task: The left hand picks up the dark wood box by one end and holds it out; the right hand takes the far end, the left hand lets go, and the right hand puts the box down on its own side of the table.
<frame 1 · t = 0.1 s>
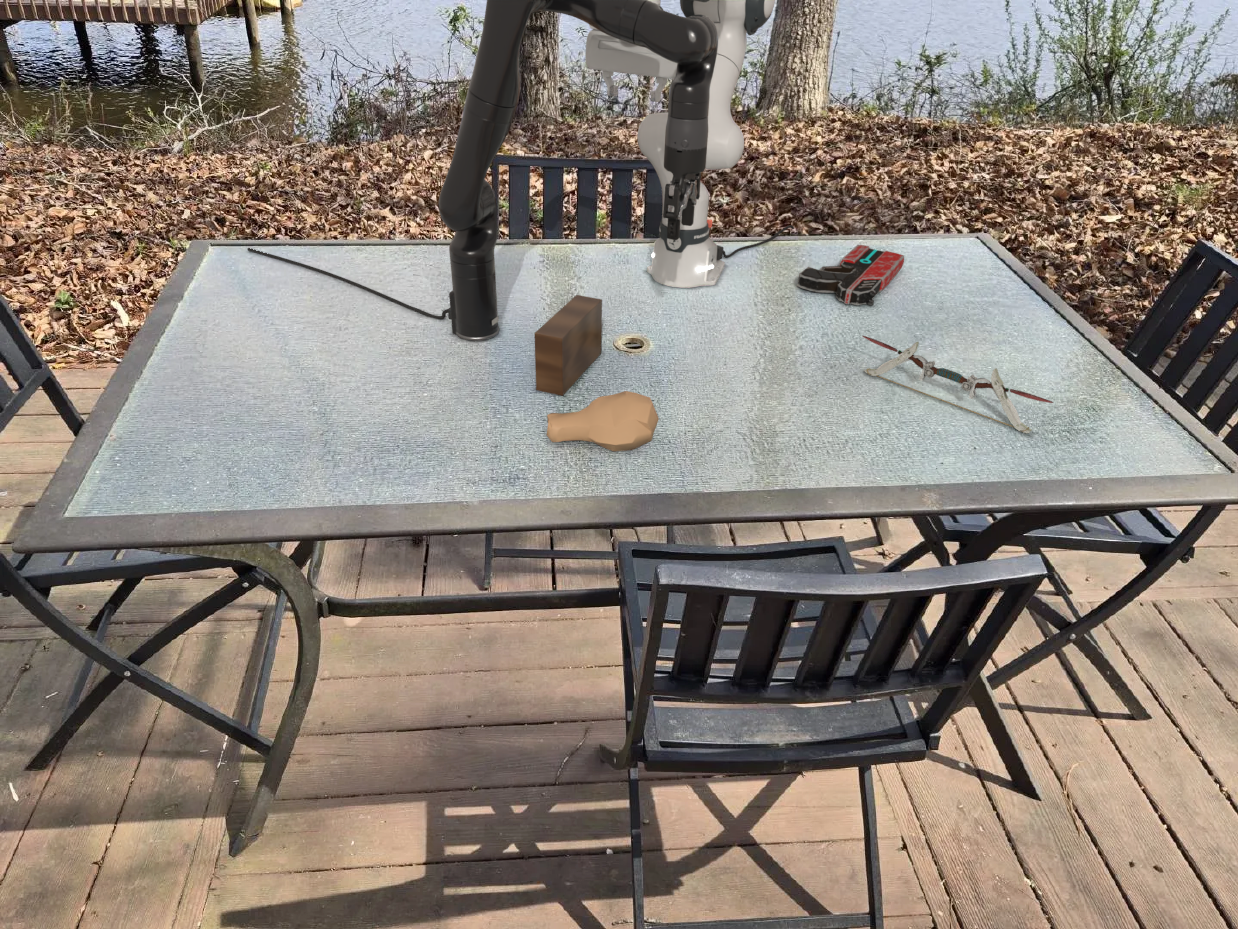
left hand: (680, 231, 164), 29 cm above the table, tool pointing down, fingers open, 8 cm apart
right hand: (633, 98, 173), 48 cm above the table, tool pointing down, fingers open, 8 cm apart
bow: (942, 401, 172), on the table
squash: (602, 441, 157), on the table
gun: (851, 281, 223), on the table
box: (570, 371, 179), on the table
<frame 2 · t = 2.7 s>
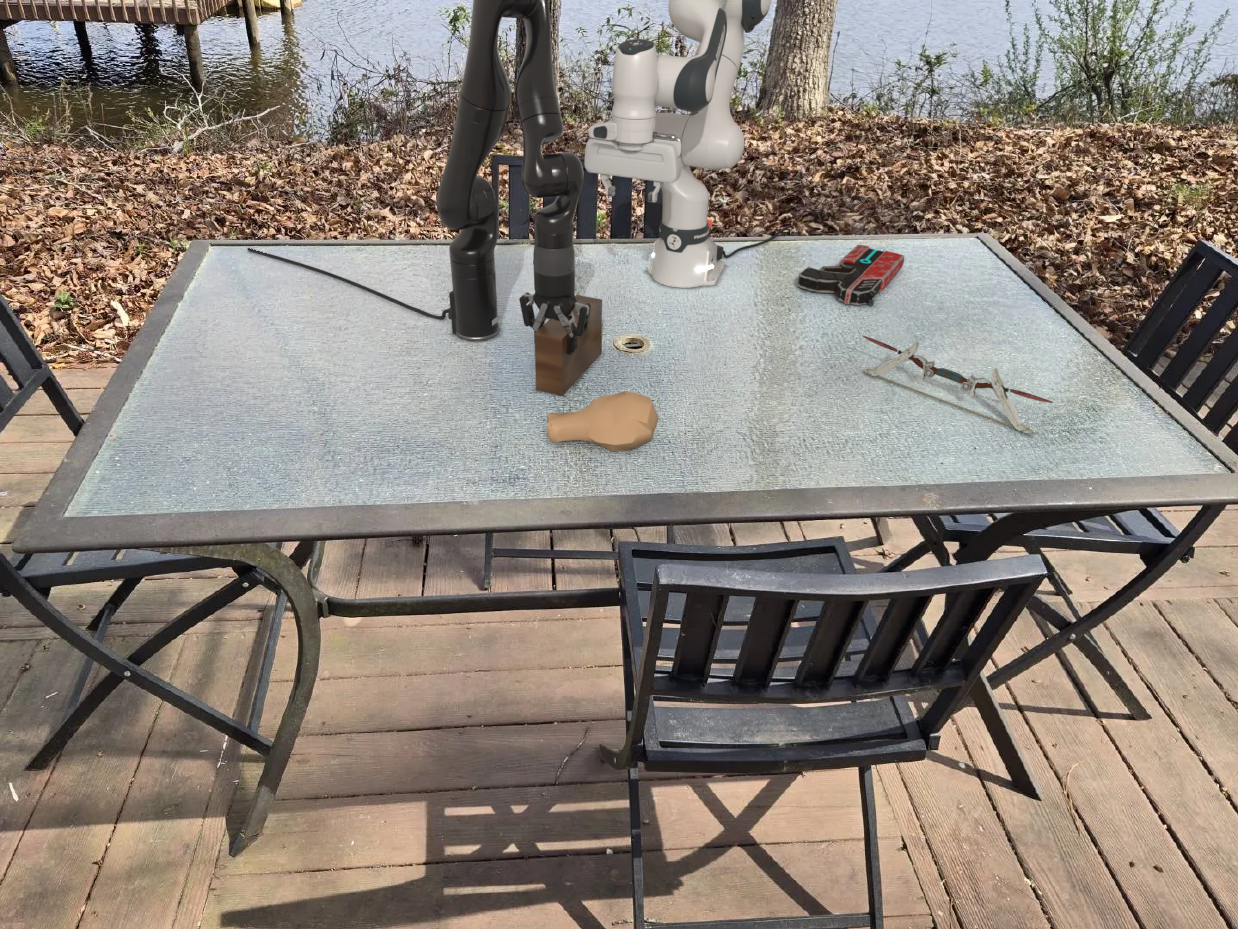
left hand: (555, 349, 169), 8 cm above the table, tool pointing down, fingers closed on box, 5 cm apart
right hand: (631, 198, 184), 28 cm above the table, tool pointing down, fingers open, 8 cm apart
box: (569, 371, 179), on the table, touching left hand
everything else where it was.
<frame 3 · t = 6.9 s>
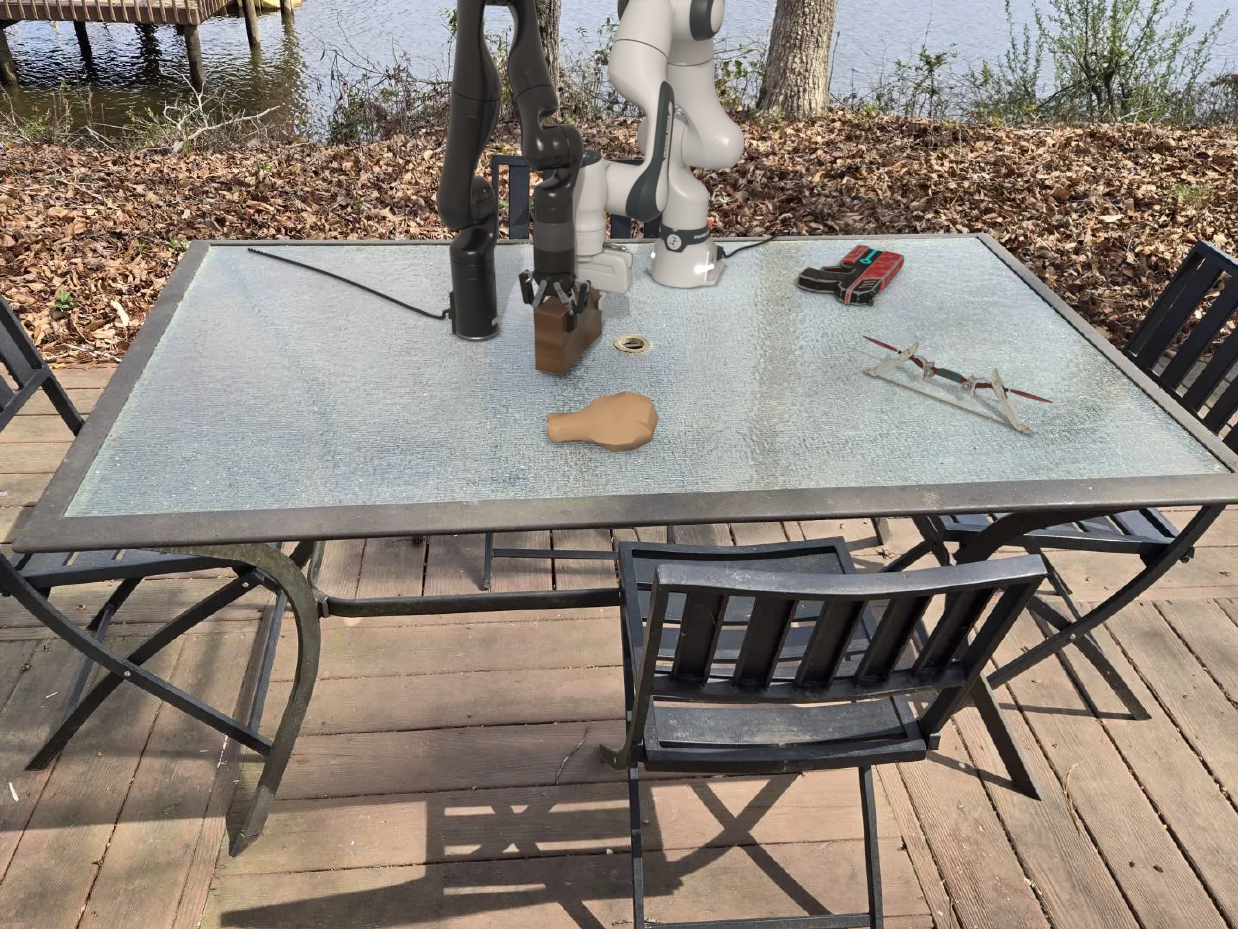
left hand: (555, 327, 167), 12 cm above the table, tool pointing down, fingers closed on box, 5 cm apart
right hand: (582, 305, 178), 12 cm above the table, tool pointing down, fingers closed on box, 6 cm apart
box: (569, 351, 176), point 5 cm above the table, touching left hand, right hand
everything else where it was.
when the left hand's fingers open (12 cm above the table, at t = 8.1 s): box stays where it is, held by the right hand.
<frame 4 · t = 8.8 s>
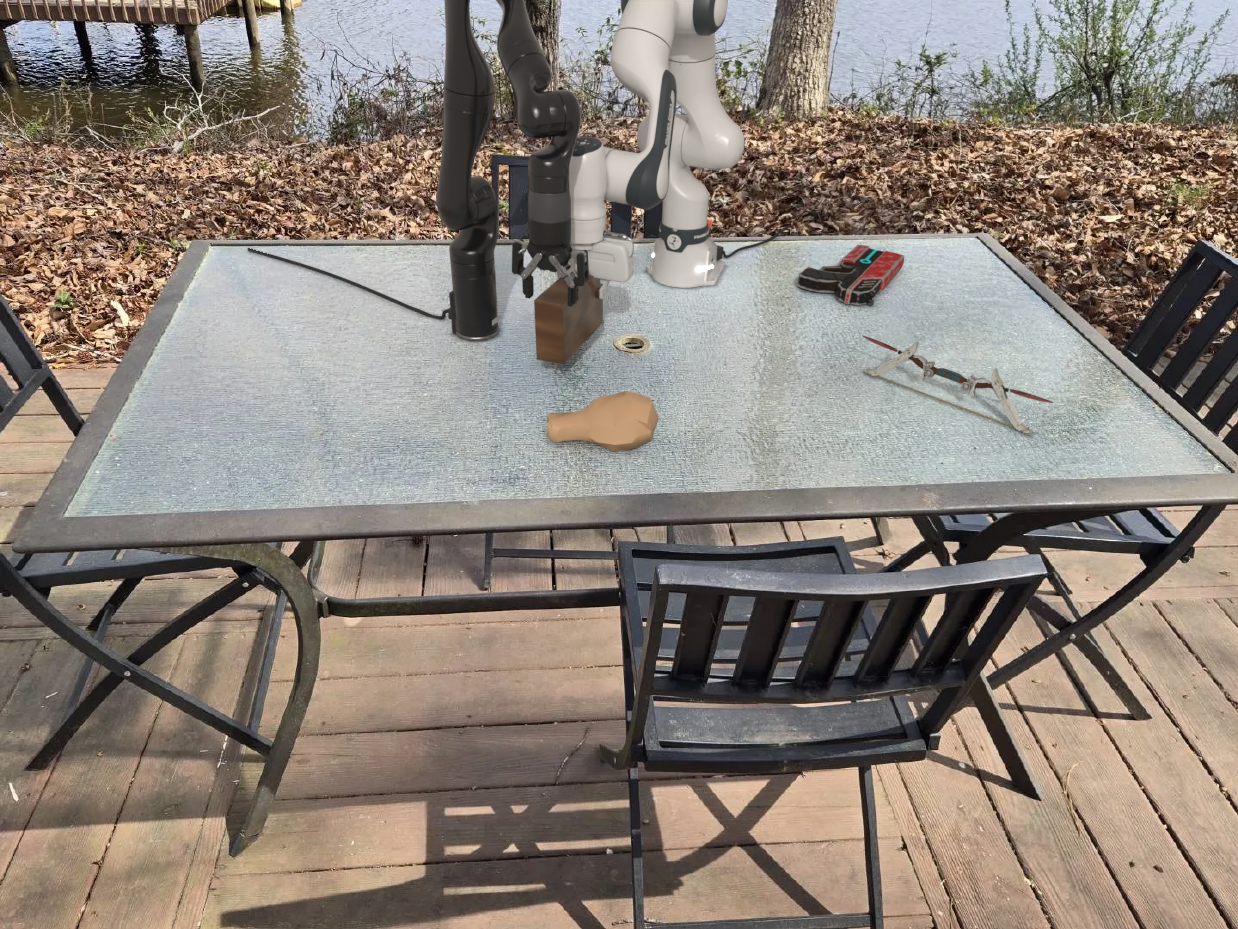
left hand: (550, 300, 161), 19 cm above the table, tool pointing down, fingers open, 8 cm apart
right hand: (583, 294, 176), 14 cm above the table, tool pointing down, fingers closed on box, 6 cm apart
box: (571, 340, 175), point 7 cm above the table, touching right hand
everything else where it was.
when the right hand's fingers open (8 cm above the table, at t = 13.0 s): box drops 1 cm, on the table.
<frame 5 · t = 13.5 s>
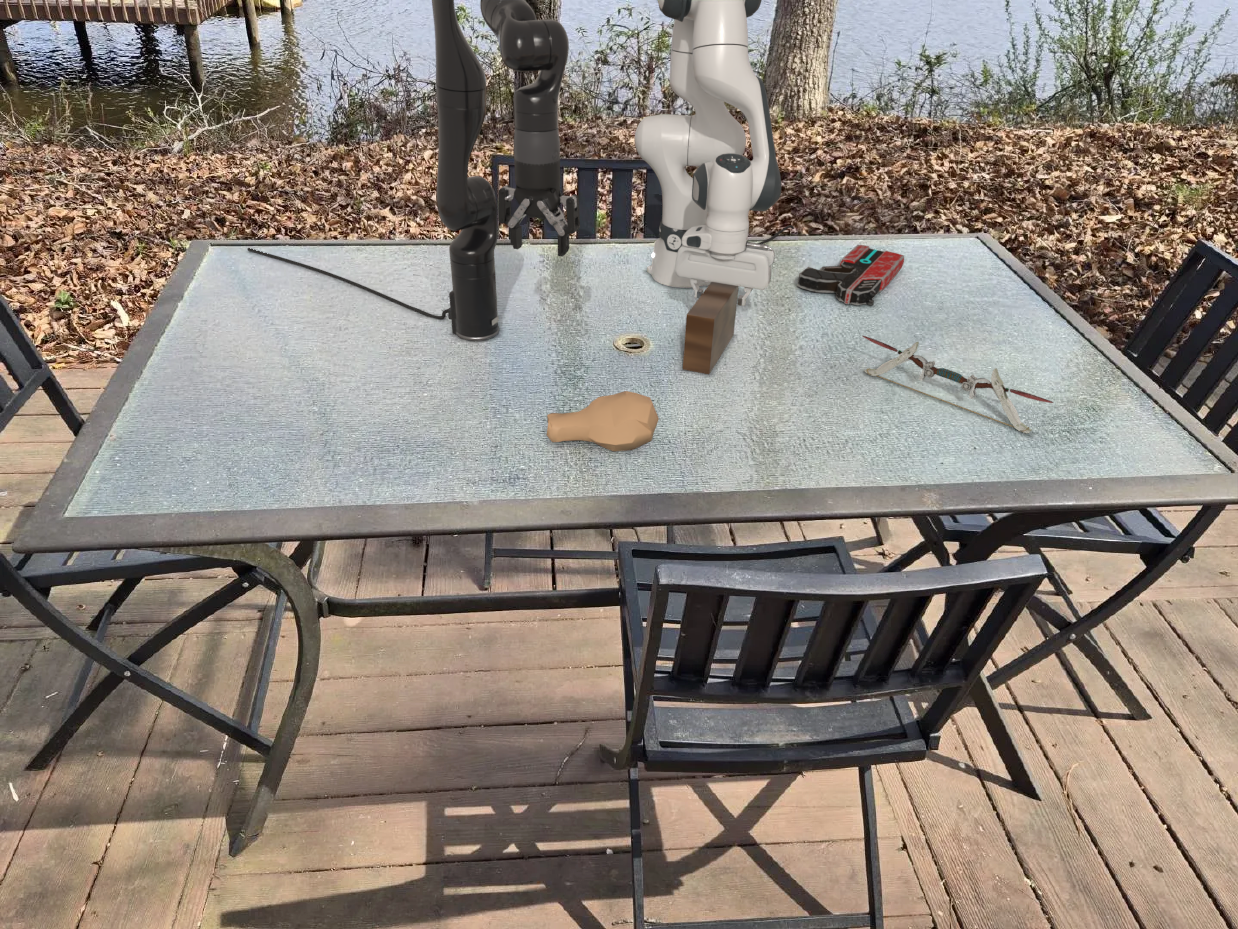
left hand: (539, 251, 152), 29 cm above the table, tool pointing down, fingers open, 8 cm apart
right hand: (719, 301, 187), 9 cm above the table, tool pointing down, fingers open, 8 cm apart
box: (708, 351, 188), on the table
everything else where it was.
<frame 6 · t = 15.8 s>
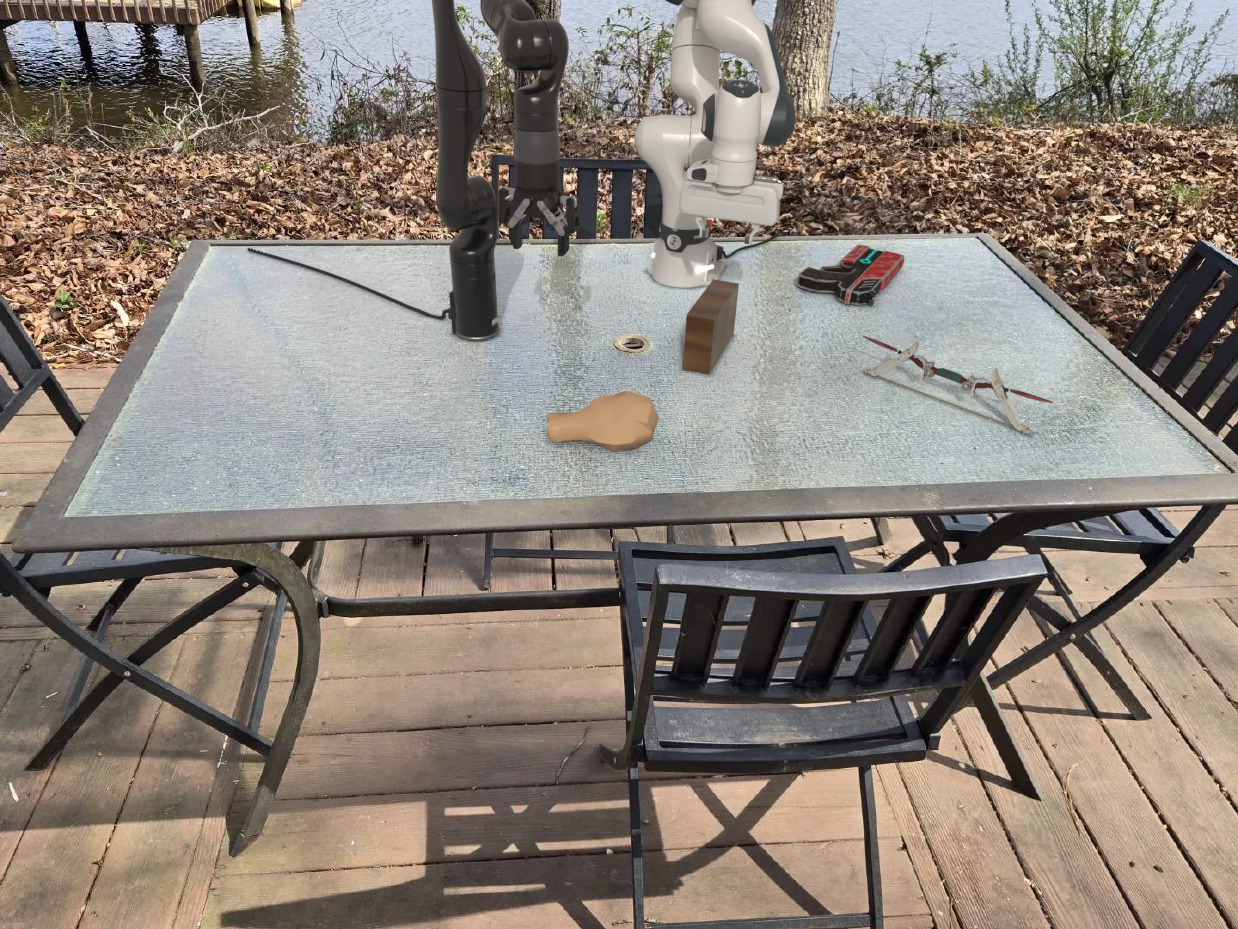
left hand: (539, 251, 152), 29 cm above the table, tool pointing down, fingers open, 8 cm apart
right hand: (726, 240, 180), 23 cm above the table, tool pointing down, fingers open, 8 cm apart
nothing on the table moved.
at the end: box inside the target area (5.8 cm from its centre), on the table; the left hand is holding nothing; the right hand is holding nothing; box at rest at the end (0.0 cm/s) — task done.
